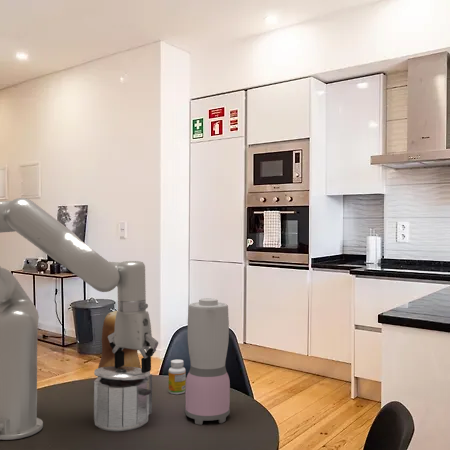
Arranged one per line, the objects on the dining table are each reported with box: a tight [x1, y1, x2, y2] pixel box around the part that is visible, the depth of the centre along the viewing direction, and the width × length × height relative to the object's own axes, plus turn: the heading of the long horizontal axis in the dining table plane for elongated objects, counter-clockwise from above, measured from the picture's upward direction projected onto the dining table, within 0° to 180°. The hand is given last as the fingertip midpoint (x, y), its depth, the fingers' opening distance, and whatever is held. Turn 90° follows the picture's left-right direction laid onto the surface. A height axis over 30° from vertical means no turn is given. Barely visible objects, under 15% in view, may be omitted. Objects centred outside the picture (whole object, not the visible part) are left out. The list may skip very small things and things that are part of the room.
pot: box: [93, 373, 153, 432], centre depth 134 cm, size 16×18×11 cm
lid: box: [93, 366, 151, 380], centre depth 133 cm, size 16×15×2 cm
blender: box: [184, 298, 231, 426], centre depth 138 cm, size 16×12×32 cm
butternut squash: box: [97, 310, 141, 369], centre depth 158 cm, size 14×13×25 cm
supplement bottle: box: [167, 359, 187, 395], centre depth 157 cm, size 5×5×10 cm
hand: (132, 369), depth 136 cm, fingers open, 9 cm apart
